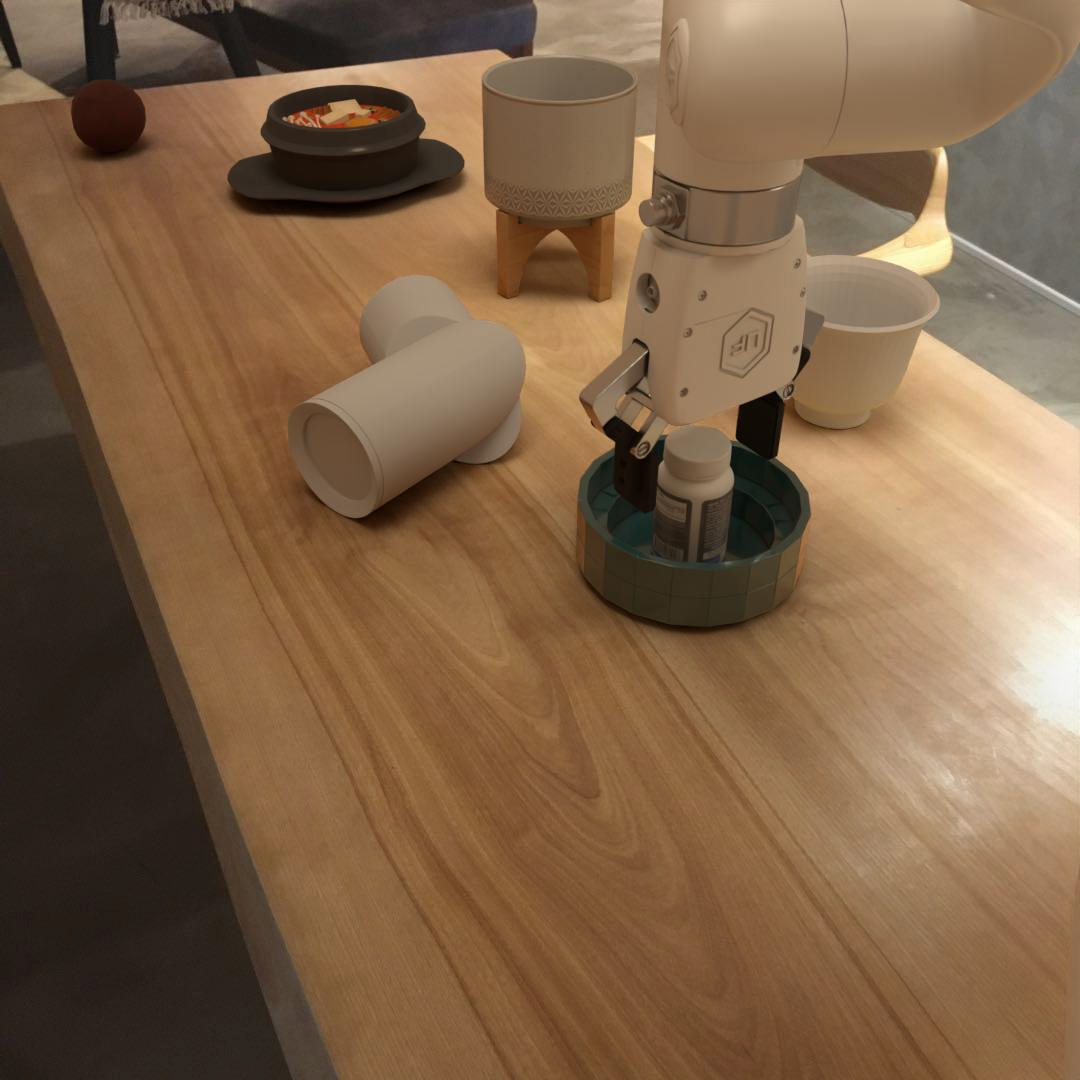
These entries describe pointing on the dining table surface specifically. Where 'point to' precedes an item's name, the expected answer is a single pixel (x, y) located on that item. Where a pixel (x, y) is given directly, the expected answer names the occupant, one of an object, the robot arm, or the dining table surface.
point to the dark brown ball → (108, 115)
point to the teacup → (859, 336)
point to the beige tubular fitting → (410, 399)
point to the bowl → (689, 587)
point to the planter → (558, 158)
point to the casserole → (343, 148)
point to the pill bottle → (693, 496)
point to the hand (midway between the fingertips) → (696, 474)
